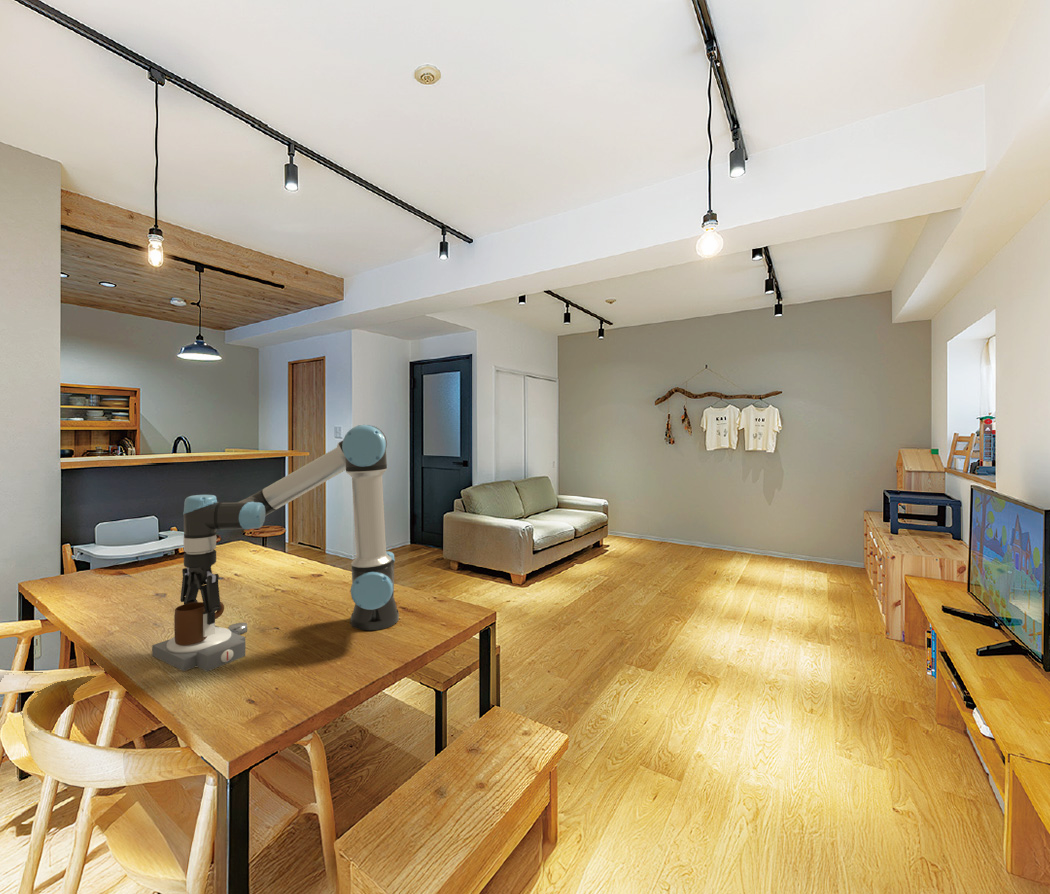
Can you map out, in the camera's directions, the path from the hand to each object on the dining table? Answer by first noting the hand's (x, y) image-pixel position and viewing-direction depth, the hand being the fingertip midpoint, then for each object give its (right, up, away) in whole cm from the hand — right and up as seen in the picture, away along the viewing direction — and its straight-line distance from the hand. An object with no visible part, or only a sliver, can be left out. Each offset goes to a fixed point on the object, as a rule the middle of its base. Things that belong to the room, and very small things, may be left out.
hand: (200, 631), depth 134 cm
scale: (+2, -6, -1) cm, 6 cm away
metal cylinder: (+3, -5, +14) cm, 15 cm away
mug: (0, -2, 0) cm, 2 cm away
